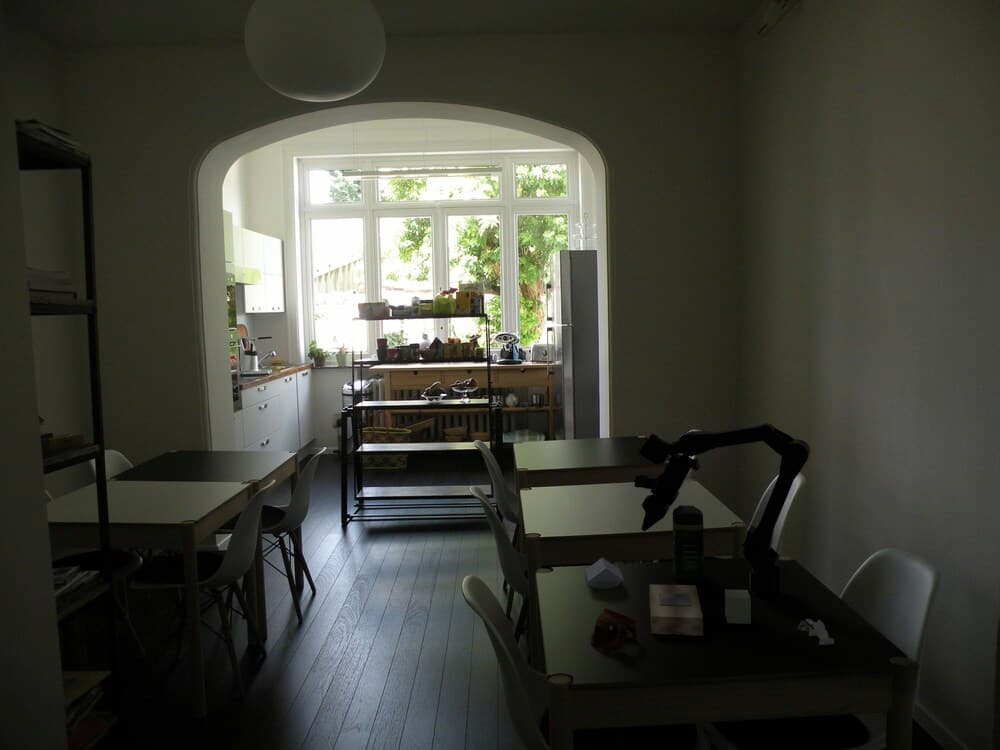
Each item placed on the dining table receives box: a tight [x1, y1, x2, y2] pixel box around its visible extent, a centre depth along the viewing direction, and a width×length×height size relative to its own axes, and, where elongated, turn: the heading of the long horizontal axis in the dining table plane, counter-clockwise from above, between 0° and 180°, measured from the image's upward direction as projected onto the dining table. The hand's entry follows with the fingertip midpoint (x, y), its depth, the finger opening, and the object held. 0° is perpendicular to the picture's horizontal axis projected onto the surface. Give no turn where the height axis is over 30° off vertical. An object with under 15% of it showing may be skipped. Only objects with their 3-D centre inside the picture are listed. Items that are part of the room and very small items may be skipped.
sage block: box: [724, 589, 752, 625], centre depth 181 cm, size 5×5×6 cm
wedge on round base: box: [584, 557, 625, 590], centre depth 206 cm, size 9×7×13 cm
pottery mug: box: [590, 608, 638, 652], centre depth 170 cm, size 12×10×8 cm
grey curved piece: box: [797, 618, 835, 646], centre depth 173 cm, size 15×7×4 cm, turn 4°
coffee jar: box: [671, 505, 705, 583], centre depth 209 cm, size 10×8×19 cm
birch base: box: [648, 583, 704, 637], centre depth 183 cm, size 11×20×4 cm, turn 171°
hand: (646, 525), depth 209 cm, fingers open, 9 cm apart
